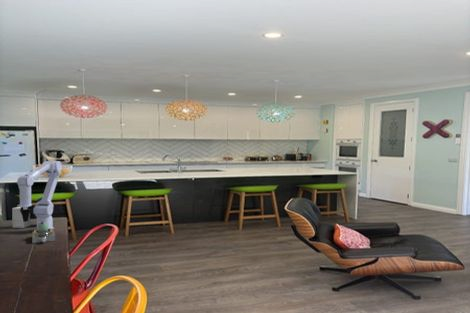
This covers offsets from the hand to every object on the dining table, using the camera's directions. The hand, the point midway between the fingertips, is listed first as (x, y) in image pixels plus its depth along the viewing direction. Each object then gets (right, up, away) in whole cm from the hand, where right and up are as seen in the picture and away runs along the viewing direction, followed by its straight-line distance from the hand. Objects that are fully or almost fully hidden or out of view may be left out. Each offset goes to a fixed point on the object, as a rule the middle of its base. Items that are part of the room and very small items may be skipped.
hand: (25, 220), depth 210 cm
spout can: (+11, -9, -2) cm, 15 cm away
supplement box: (-18, -9, +26) cm, 32 cm away
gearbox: (+14, -10, -7) cm, 18 cm away
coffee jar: (-5, -9, +30) cm, 32 cm away
